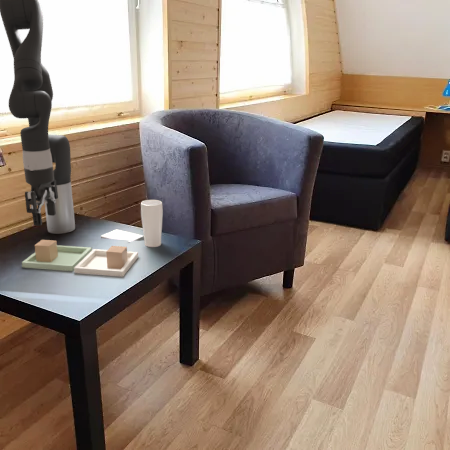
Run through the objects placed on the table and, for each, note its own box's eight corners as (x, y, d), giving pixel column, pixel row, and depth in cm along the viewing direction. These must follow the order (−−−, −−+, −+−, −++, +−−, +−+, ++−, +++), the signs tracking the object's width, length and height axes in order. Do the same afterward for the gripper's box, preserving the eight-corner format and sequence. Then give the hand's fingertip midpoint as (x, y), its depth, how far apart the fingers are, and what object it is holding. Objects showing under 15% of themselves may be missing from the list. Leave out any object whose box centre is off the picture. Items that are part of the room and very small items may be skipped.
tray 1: (46, 251, 148) (45, 244, 147) (92, 255, 146) (91, 247, 146) (22, 270, 135) (21, 262, 134) (72, 274, 133) (72, 266, 132)
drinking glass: (159, 251, 150) (158, 206, 145) (139, 249, 151) (137, 204, 146) (166, 243, 156) (165, 200, 151) (146, 242, 158) (144, 198, 153)
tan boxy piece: (43, 255, 143) (42, 239, 141) (58, 256, 143) (56, 240, 141) (36, 261, 139) (34, 245, 137) (50, 262, 138) (49, 246, 137)
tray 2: (94, 256, 145) (93, 249, 144) (138, 259, 144) (138, 252, 143) (74, 276, 132) (74, 267, 131) (123, 279, 131) (122, 271, 130)
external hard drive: (128, 247, 155) (100, 239, 160) (144, 239, 161) (117, 232, 167) (128, 242, 154) (100, 235, 160) (144, 235, 161) (117, 228, 167)
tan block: (112, 261, 140) (111, 245, 138) (127, 262, 139) (126, 246, 137) (107, 267, 135) (106, 251, 134) (122, 268, 135) (121, 252, 133)
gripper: (37, 159, 138) (44, 211, 144) (11, 170, 125) (20, 228, 131) (62, 160, 138) (67, 212, 143) (38, 172, 124) (46, 229, 130)
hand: (45, 220), depth 137 cm, fingers open, 8 cm apart
